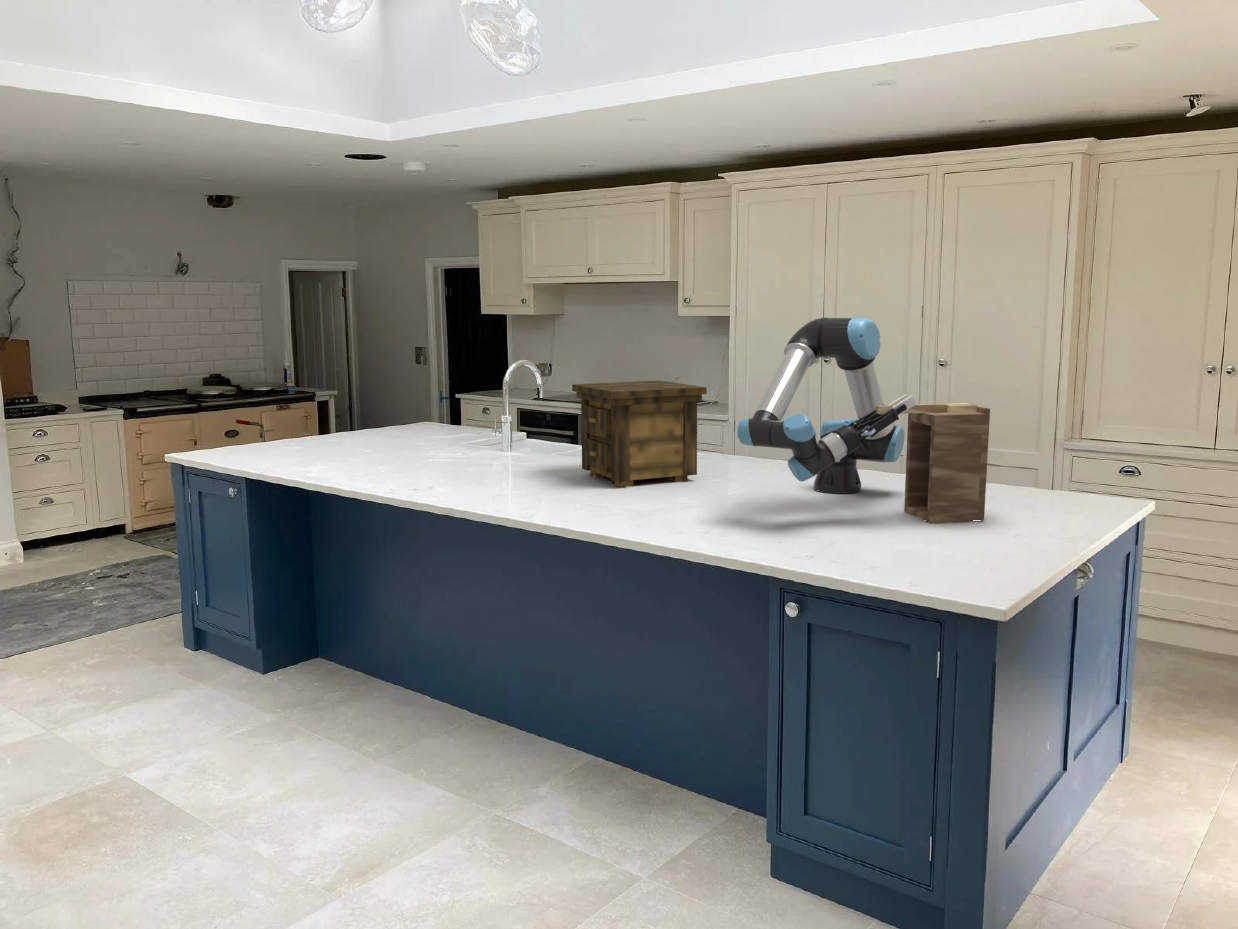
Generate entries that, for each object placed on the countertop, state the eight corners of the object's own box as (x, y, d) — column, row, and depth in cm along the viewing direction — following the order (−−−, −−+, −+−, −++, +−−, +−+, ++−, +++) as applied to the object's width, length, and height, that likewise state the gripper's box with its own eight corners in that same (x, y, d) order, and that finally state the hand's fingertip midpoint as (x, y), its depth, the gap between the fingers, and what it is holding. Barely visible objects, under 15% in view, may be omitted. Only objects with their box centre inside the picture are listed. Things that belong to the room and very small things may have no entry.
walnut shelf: (904, 511, 280) (908, 404, 275) (955, 509, 283) (960, 402, 277) (930, 523, 264) (935, 410, 259) (984, 521, 267) (990, 408, 262)
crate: (706, 481, 330) (706, 387, 325) (613, 490, 316) (612, 391, 310) (659, 467, 362) (659, 380, 356) (573, 474, 347) (572, 384, 342)
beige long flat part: (873, 412, 268) (873, 404, 268) (966, 410, 272) (966, 402, 272) (881, 414, 263) (882, 406, 262) (976, 412, 267) (976, 404, 267)
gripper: (835, 450, 274) (903, 407, 275) (858, 459, 258) (930, 413, 259) (823, 428, 272) (892, 385, 273) (845, 435, 256) (918, 389, 258)
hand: (910, 399), depth 266 cm, fingers open, 3 cm apart
